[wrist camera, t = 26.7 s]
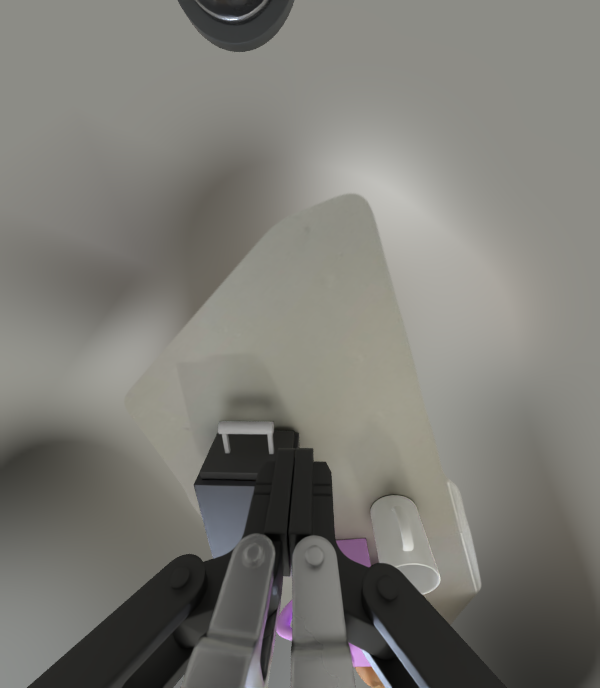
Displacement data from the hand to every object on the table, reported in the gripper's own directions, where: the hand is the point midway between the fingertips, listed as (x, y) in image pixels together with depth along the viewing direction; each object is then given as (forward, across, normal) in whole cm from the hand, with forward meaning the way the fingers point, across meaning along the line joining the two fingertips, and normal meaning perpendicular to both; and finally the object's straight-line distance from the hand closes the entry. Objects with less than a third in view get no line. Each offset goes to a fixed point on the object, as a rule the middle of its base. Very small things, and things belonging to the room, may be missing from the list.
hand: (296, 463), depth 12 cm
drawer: (+24, +8, +24) cm, 35 cm away
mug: (+25, -13, +35) cm, 45 cm away
